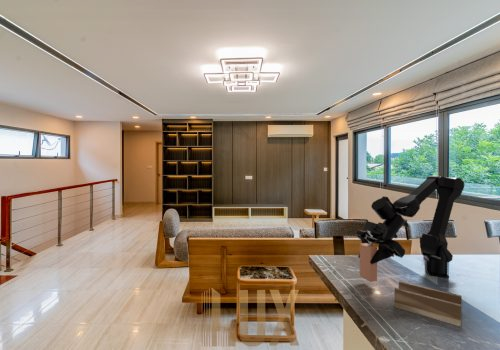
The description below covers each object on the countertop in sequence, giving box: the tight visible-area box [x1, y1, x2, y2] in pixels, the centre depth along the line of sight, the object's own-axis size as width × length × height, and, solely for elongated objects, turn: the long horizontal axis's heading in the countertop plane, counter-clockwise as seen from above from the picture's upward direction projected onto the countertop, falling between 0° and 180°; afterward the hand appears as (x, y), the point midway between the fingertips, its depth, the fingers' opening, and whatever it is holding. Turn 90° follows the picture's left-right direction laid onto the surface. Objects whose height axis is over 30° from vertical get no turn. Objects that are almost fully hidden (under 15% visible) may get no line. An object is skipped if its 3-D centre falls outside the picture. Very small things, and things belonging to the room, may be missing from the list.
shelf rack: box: [393, 280, 463, 327], centre depth 79 cm, size 10×16×5 cm, turn 51°
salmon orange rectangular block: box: [359, 242, 378, 283], centre depth 95 cm, size 3×6×12 cm, turn 17°
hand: (365, 260), depth 95 cm, fingers closed on salmon orange rectangular block, 5 cm apart
